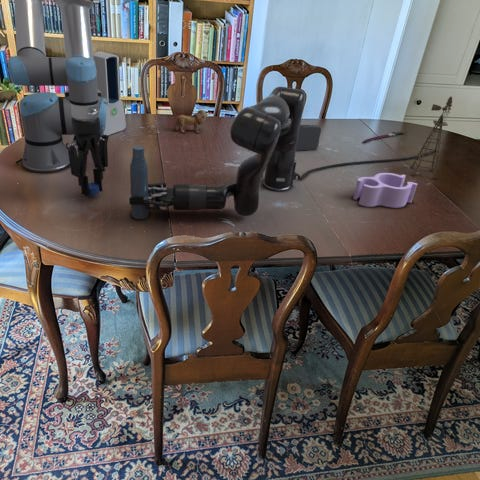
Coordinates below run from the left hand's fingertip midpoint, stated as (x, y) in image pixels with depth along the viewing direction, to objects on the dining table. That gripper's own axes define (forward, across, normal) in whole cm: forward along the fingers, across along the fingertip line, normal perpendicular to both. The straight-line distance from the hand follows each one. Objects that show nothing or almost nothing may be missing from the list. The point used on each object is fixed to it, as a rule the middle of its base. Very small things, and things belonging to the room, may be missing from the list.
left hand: (92, 192), depth 142 cm
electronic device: (+2, +42, +40) cm, 58 cm away
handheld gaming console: (+2, +82, -23) cm, 85 cm away
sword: (+2, +129, -46) cm, 137 cm away
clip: (+2, +67, -68) cm, 95 cm away
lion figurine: (+2, +67, +18) cm, 69 cm away
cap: (-2, 0, 0) cm, 2 cm away
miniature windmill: (+2, +102, -72) cm, 125 cm away
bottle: (+2, +3, -18) cm, 18 cm away
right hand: (-4, +1, -16) cm, 16 cm away
